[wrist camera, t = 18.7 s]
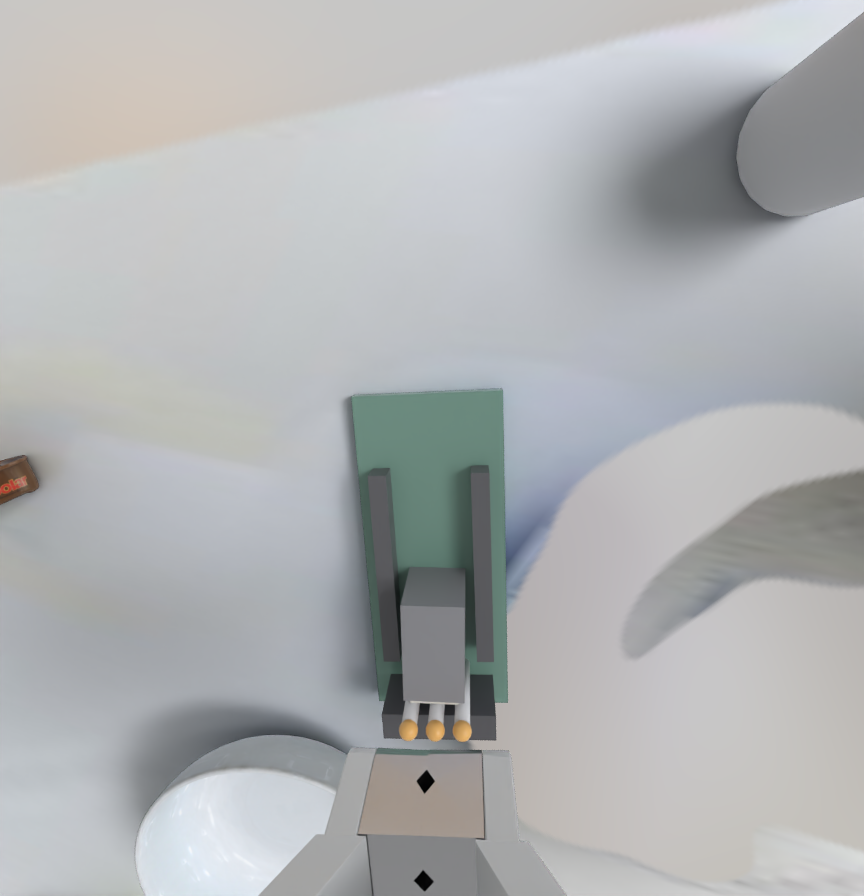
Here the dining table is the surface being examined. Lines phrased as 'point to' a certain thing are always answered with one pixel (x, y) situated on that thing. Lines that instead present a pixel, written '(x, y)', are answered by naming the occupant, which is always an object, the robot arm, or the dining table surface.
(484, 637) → the header board
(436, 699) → the plug
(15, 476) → the tin
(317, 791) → the serving bowl
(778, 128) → the can
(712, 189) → the dining table surface
